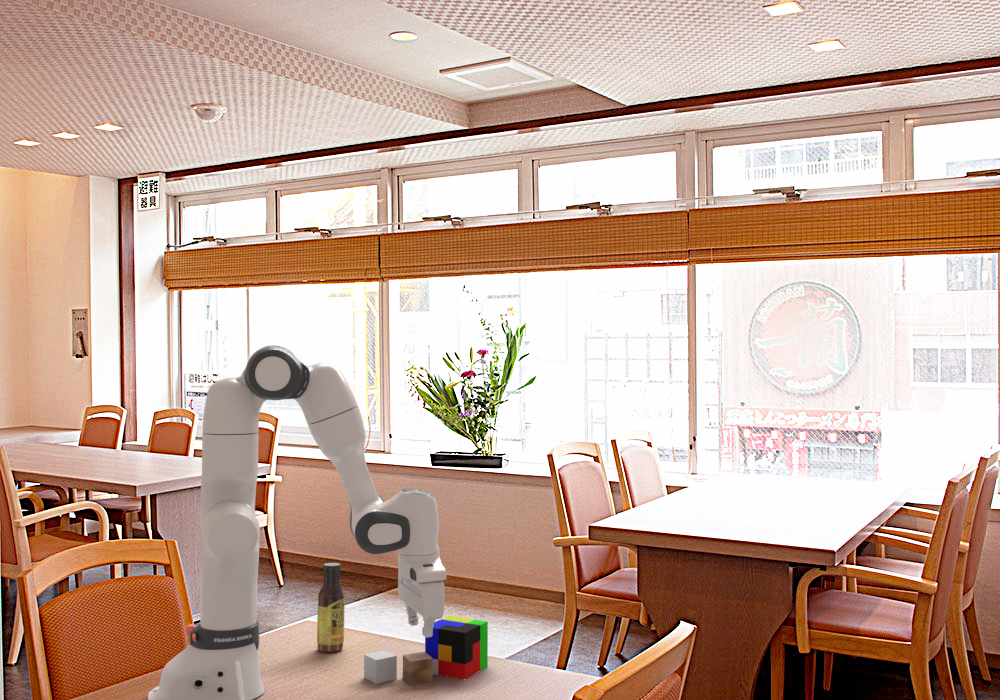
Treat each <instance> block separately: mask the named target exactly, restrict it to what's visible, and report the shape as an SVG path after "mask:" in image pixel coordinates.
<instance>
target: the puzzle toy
mask: <svg viewBox="0 0 1000 700" xmlns="http://www.w3.org/2000/svg"><path fill="white" fill-rule="evenodd" d="M488 625H489V623H488V621H487V620H482V619H473V618H467V617H460V616H459V617H458V616H453V615H447V616H445V617H442V618H440V619H438V620H437V621H436V620H435V623H434V626H433V636H432V637H427V638H426V637H425V636H424V638H425V639H424V640H425V641H424V643H425V644H424V652H426V653H427V654H428V655H429V656H431V657H432V658H433V675H437V676H441V675H443V676H442V677H447V676H448V677H447V678H452V677H454V678H453V679H458V678H459V679H458V680H463V679H466V680H467V679H469V678H470V676H471V677H472V676H474V675H476V674H477V673H479V672H481V671H483V670H484V669H486V668H487V666H488V661H489V659H488V655H489V654H488V653H489V648H488V646H489V645H488V643H489V641H488V640H489V639H488V636H489V633H488V632H489V631H488V630H489V629H488V627H489V626H488ZM485 667H486V668H485ZM483 668H484V669H483ZM482 669H483V670H482ZM480 670H481V671H480ZM478 671H479V672H478ZM476 672H477V673H476ZM475 673H476V674H475ZM473 674H474V675H473ZM468 677H469V678H468Z"/></svg>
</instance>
